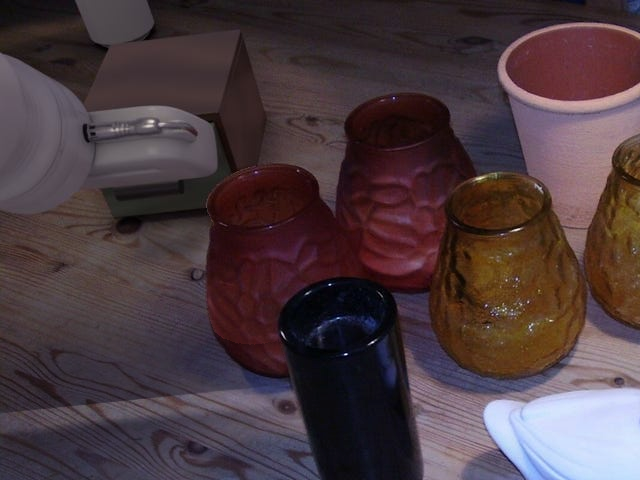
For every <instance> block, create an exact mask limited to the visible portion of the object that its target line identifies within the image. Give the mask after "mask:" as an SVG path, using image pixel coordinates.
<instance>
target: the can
mask: <svg viewBox="0 0 640 480" xmlns="http://www.w3.org/2000/svg"><path fill="white" fill-rule="evenodd" d="M74 2H75V3H76V4H75V5H76V6H77V8H78V11H79V13H80V16H81V18H82V21H83V23H84V25H85V28H86V31H87V34H88V36H89V38H90V40H91V41H93V42H94V43H95V44H98V45H101V46H102V47H105V48H108V49H109V47H110V45H111V44H120V43H128V42H137V41H144V40H145V39H146V38H147V37H148V36H149V35H150V32H151V30H152V29H153V27H154V25H155V20H154V17H153V15H152V11H151V8H150V6H149V3H148V0H74Z"/></svg>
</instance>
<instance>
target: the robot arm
mask: <svg viewBox="0 0 640 480" xmlns="http://www.w3.org/2000/svg"><path fill="white" fill-rule="evenodd" d="M83 105H84V103H82V101H81V100H80V98H79V97H78V96H77V95H75V93H73V91H72V90H70V89H69V88H68V87H66V85H64V84H62V83H61V82H59V81H57V80H55V79H54V78H52V77H50V76H48V75H46V74H44V73H43V72H41V71H40V70H37V69H36V68H34V67H33V66H30V65H29V64H27V63H26V62H24V61H22V60H20V59H18V58H15V57H13V56H11V55H8V54H4V53H2V52H0V211H4V212H7V213H11V214H16V215H35V214H41V213H44V212H48V211H51V210H53V209H56V208H59V206H61V205H63V204H65V203H66V202H67V201H69V200H71V198H72V197H73V196H74V195H75V194H76V193H77V192H79V191H81V192H82V191H89V190H97V189H98V190H99V189H100V188H108V187H118V186H127V185H136V184H145V183H154V182H158V183H165V182H175V181H179V180H181V179H190V178H200V177H206V176H209V175H211V174H213V173H214V172H216V170H217V148H216V140H215V134H214V130H213V127H212V126H211V124H209V123H208V122H207V121H205V120H203V119H201V118H199V117H197V116H195V115H192V114H190V113H188V112H185V111H183V110H180V109H177V108H173V107H168V106H140V107H131V108H122V109H113V110H104V111H96V112H87V111H86V109H85V107H84V106H83Z"/></svg>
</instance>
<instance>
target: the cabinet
mask: <svg viewBox="0 0 640 480" xmlns="http://www.w3.org/2000/svg"><path fill="white" fill-rule="evenodd" d="M83 106H84V107H85V109H86V111H87V112H96V111H104V110H113V109H122V108H131V107H140V106H168V107H173V108H177V109H180V110H183V111H185V112H188V113H190V114H192V115H195V116H197V117H199V118H201V119H203V120H205V121H212V122H214V123H215V125H216V128H217V131H218V134H219V137H220V140H221V143H222V146H223V149H224V152H225V155H226V158H227V161H228V164H229V167H230V170H231V173H232V174H233V173H235V172H237V171H240V170H242V169H245V168H248V167H252V166H255V165H257V166H258V160H259V156H260V151H261V146H262V141H263V137H264V130H265V127H266V121H267V114H266V111H265V107H264V104H263V101H262V97H261V93H260V89H259V86H258V83H257V80H256V77H255V73H254V70H253V67H252V63H251V59H250V55H249V53H248V50H247V45H246V43H245V39H244V35H243V33H242V30H241V29H232V30H224V31H215V32H205V33H197V34H189V35H180V36H171V37H163V38H156V39H155V38H154V39H147V40H142V41H137V42H128V43H120V44H111V45H110V47H109V48H108V49H107V52H106V54H105V56H104V59H103V60H102V63H101V65H100V67H99V69H98V72H97V74H96V77H95V79H94V80H93V82H92V85H91V87H90V90H89V92H88V94H87V95H86V99H85V100H84V103H83ZM99 189H100V190H101V188H99ZM102 195H103V194H102ZM103 197H104V195H103ZM104 200H105V201H106V199H105V197H104ZM107 207H108V209H109V211H110V214H111V215H112V213H111V210H110V208H109V206H108V205H107ZM204 209H206V208H198V209H189V210H180V211H179V212H187V211H194V210H195V211H197V210H204ZM176 212H178V211H171V212H170V213H176ZM166 213H169V212H162V213H161V214H166ZM158 214H160V213H153V214H152V215H158ZM148 215H149V216H150V215H151V214H143V215H134V216H125V217H116V218H114V217H113V215H112V218H113V219H121V218H131V217H139V216H140V217H141V216H148Z"/></svg>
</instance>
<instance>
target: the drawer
mask: <svg viewBox="0 0 640 480" xmlns="http://www.w3.org/2000/svg"><path fill="white" fill-rule="evenodd" d="M207 122H208V123H209V124H211V126H212V127H213V130H214V134H215V140H216V148H217V170H216V172H214V173H213V174H211V175H209V176H206V177H200V178H190V179H181V180H179V181H175V182H165V183H158V182H154V183H145V184H136V185H127V186H118V187H108V188H101V189H100V191H101V193H102V195H104V196H103V197H105V198H104V200H105V199H106V200H105V202H106V205H107V207H108V206H109V207H108V209H109V208H110V209H109V211H110V210H111V211H110V214H111V213H112V214H111V215H113V216H112V218H113V217H114V218H113V219H117V218H116V217H123V218H126V217H125V216H132V217H135V216H134V215H141V216H144V215H143V214H150V215H154V214H153V213H159V214H163V213H162V212H168V213H172V212H171V211H177V212H181V211H180V210H187V211H190V210H189V209H196V210H199V209H198V208H205V209H207V208H206V202H207V199H208V196H209V194H210V193H211V192H212V190H213V189H214V188H215V187H216V185H217V184H219V183H220V182H221V181H222V180H224V179H225V178H227V177H228V176H230V175H231V174H232V173H231V170H230V167H229V164H228V161H227V158H226V155H225V152H224V149H223V146H222V143H221V140H220V137H219V134H218V131H217V128H216V125H215V123H214V122H212V121H207Z"/></svg>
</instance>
